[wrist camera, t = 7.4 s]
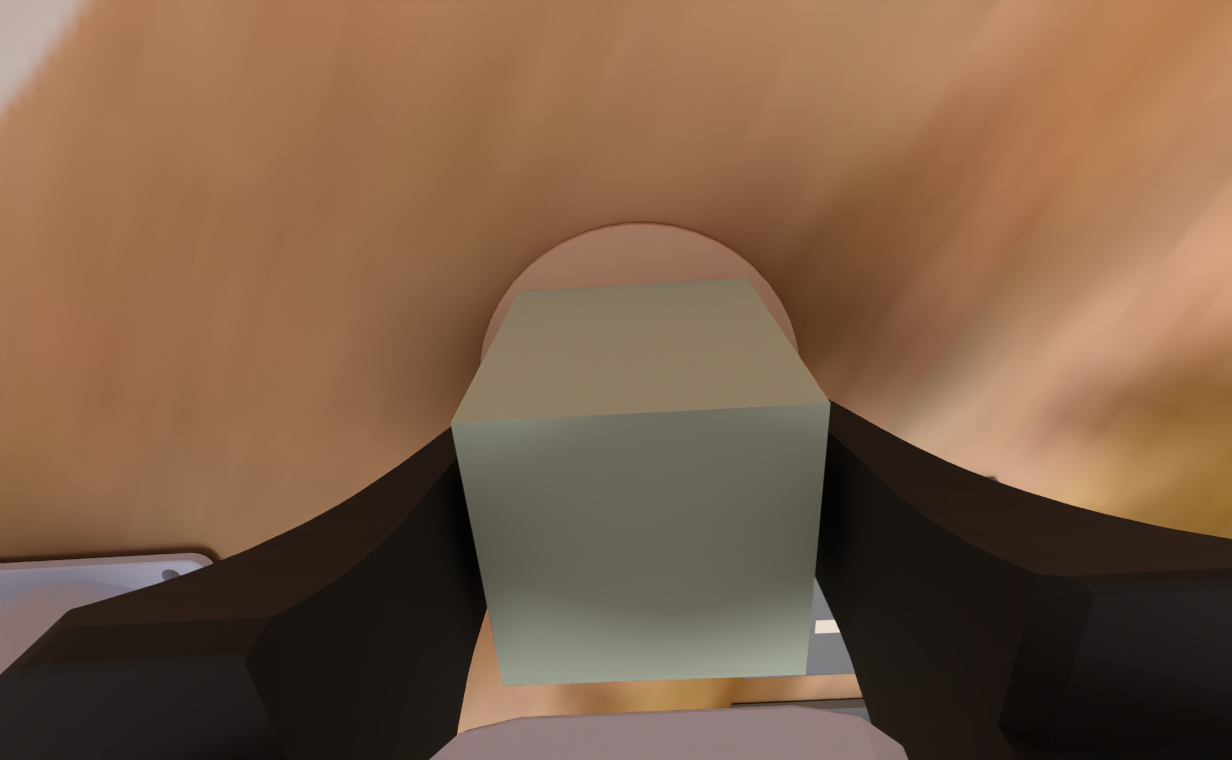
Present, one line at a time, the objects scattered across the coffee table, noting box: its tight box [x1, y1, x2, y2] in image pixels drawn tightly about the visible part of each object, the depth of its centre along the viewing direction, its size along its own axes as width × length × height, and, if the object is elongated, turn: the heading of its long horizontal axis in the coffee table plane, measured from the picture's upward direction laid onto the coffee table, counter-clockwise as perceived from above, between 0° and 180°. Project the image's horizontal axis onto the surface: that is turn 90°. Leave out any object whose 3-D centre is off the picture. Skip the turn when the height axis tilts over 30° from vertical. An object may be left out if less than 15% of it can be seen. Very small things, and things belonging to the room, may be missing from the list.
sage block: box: [451, 278, 830, 686], centre depth 12 cm, size 5×5×6 cm
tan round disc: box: [480, 223, 799, 365], centre depth 15 cm, size 8×8×1 cm
